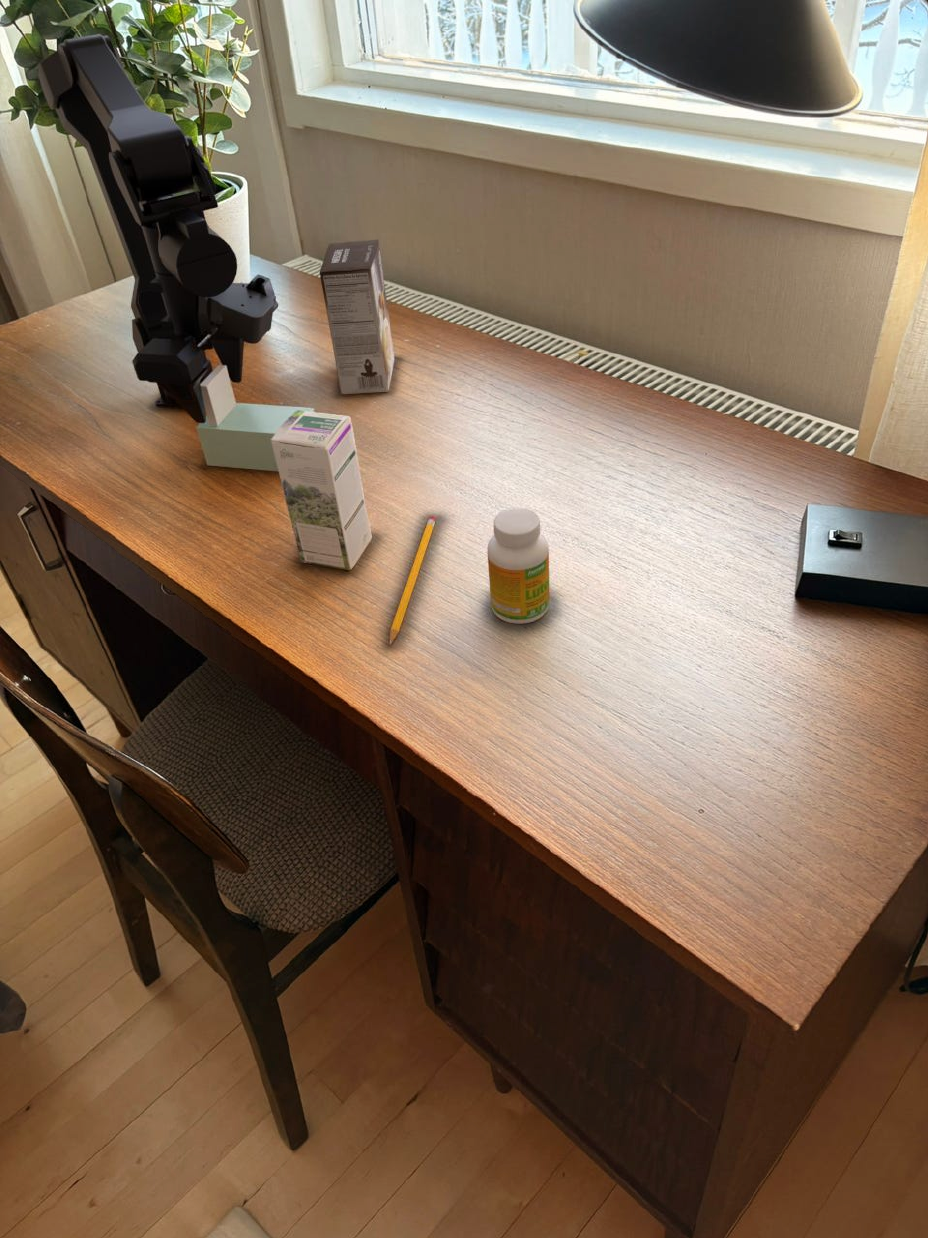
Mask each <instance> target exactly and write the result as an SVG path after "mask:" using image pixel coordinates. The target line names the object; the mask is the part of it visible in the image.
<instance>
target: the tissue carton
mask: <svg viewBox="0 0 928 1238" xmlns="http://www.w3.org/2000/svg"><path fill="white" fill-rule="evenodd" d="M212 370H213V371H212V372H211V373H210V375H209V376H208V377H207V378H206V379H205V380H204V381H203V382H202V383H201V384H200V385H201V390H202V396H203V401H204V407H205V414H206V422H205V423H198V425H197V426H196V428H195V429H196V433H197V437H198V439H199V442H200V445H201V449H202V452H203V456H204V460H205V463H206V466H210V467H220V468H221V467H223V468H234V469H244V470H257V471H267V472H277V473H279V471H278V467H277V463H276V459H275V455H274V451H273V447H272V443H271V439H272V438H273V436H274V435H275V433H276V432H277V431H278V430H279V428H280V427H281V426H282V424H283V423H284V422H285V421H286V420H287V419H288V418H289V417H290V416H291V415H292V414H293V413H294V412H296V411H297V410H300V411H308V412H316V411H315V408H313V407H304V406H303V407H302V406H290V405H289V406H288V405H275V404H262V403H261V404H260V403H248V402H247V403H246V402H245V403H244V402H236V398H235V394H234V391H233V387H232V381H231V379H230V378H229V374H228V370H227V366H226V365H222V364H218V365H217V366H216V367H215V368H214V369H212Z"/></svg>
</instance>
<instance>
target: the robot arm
mask: <svg viewBox="0 0 928 1238" xmlns="http://www.w3.org/2000/svg"><path fill="white" fill-rule="evenodd" d="M57 45H58V46H57V50H56V51H54V52H53V53H52V54H51V55H49V56H47V57H46V58H45V59H43V60H42V61H40V63H39V70H38V78H39V83H40V86H41V89H42V92H43V95H44V98H45V100H46V102H47V105H48V106H49V108H50V110H51V111H52V110H55V111H56V114H57V116H58V119H59V122H60V123H61V126H62V129H64V131H66V132H67V133H68V134H69V135H70V136H71V137H72V138H74V140H75V141H76V142H78V143H79V144H80V145H81V146H82V147H83V148H84V149H85V150H86V153H87V156H88V158H89V160H90V163H91V166H92V168H93V171H94V174H95V176H96V180H97V182H98V184H99V187H100V189H101V192H102V195H103V198H104V200H105V201H104V202H105V203H106V206H107V209H108V211H109V214H110V216H111V220H112V222H113V224H114V227H115V230H116V233H117V236H118V238H119V241H120V244H121V246H122V249H123V251H124V254H125V256H126V260H127V262H128V265H129V268H130V271H131V273H132V276H133V278H134V284H133V290H132V296H131V302H130V308H131V311H132V314H133V317H134V319H131V329H132V330H131V331H132V333H131V334H132V340H133V343H134V346H135V349H136V351H137V353H136V354H135V356H134V357H133V359H132V360H131V362H132V365H133V368H134V371H135V374H136V375H135V376H136V377H137V379H138V381H139V382H148V383H153V384H156V385H157V389H158V392H159V395H160V396H159V397H158V398H157V399H156V400H155V401H154V404H155V406H156V407H157V408H171V409H172V408H173V409H183V410H184V411H185V412H186V413H187V414H188V416H189V417H190V418H191V419H192V420H193V421H194V422H195V423H197V424H200V423H205V422H206V416H207V413H206V410H205V406H204V401H203V396H202V390H201V385H200V384H201V383H202V382H203V381H204V380H205V379H206V378H207V377H208V376H209V375H210V373H211V372H212V371H213V370H214V369H213V367H212V362H211V360H210V359H207V355H206V352H205V351H208V350H209V351H211V350H213V349H214V351H215V353H216V355H217V358H218V359H219V361H220V363H221V365H226V366H227V370H228V374H229V378H230V382H231V383H233V384H235V383H236V384H240V383H241V382H242V380H243V379H242V378H243V363H244V362H243V361H244V348H245V343H247V344H252V345H255V344H258V343H259V342H260V341H261V340H262V338H263V337H264V336H265V335H266V333H267V332H270V331H271V329H272V322H273V315H274V312H275V311H276V310H277V309H278V308H279V302H278V301H277V296H276V295H275V291H274V287H273V285H272V281H271V279H270V277H267V276H265V275H262V274H260V273H259V274H256V275H255V276H254V277H253V278H252V279H251V280H250V281H249V282H248V283H244V282H234V281H235V279H236V276H237V272H238V260H237V256H236V253H235V252H234V250H233V248H232V246H231V245H230V244H229V243H228V242H227V241H226V240H225V239H224V238H223V237H222V236H220V235H219V234H218V233H217V232H216V231H214V230H213V228H211V227H210V226H209V224H208V222H207V219H206V216H205V211H209V210H212V209H217V208H219V203H218V201H217V198H216V196H215V195H216V194H217V185H216V182H215V181H214V179H213V176H212V174H211V172H210V170H209V168H208V165H207V164H206V161H205V159H204V157H203V155H202V152H201V150H200V149H199V147H198V146H197V145H195V144H194V141H193V139H192V137H190V135H185V133H184V131H183V130H182V129H181V127H180V126H179V124H178V123H176V122H175V120H174V119H173V118H172V117H171V116H170V115H168V114H166V113H163V112H159V111H156V110H153V109H151V108H150V107H149V106H148V105H147V103H146V102H145V100H144V98H143V97H142V95H141V94H140V92H139V90H137V89H138V88H136V86H135V85H134V83H133V81H132V80H131V78H130V77H129V75H128V74H127V73H126V71H125V67H124V65H123V62H122V60H121V57H120V54H119V51H118V48H117V47H115V46H114V44H113V42H112V41H111V39H110V37H109V36H108V35H102V34H101V33H96V34H90V35H84V36H79V37H73V38H67V39H64V40H63V42H60V43H58V44H57ZM195 184H196V185H195ZM195 186H197V189H198V190H196V191H192V192H188V191H191V190H194V189H195ZM184 192H187V193H184ZM180 193H183V194H180ZM176 194H179V195H176Z"/></svg>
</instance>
